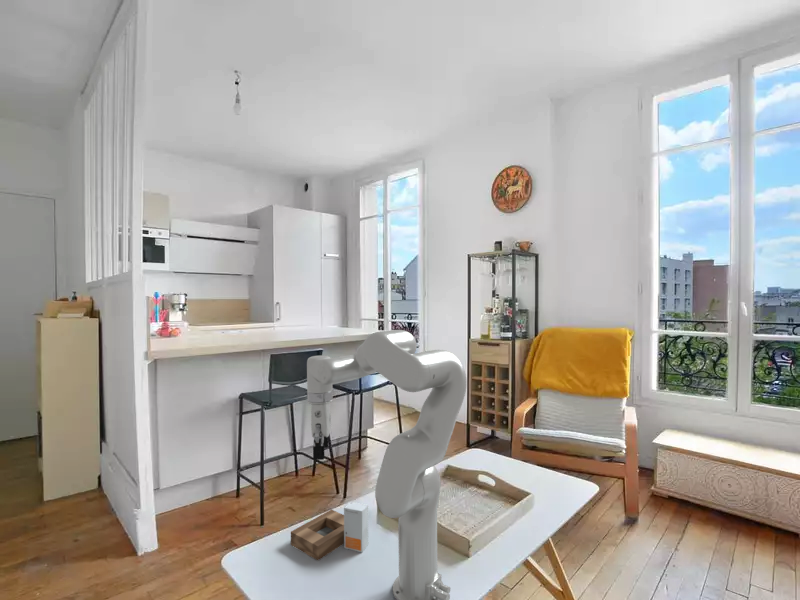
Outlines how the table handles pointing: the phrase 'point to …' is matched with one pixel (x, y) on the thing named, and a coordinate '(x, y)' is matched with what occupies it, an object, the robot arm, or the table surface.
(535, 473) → the table surface
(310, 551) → the socket block
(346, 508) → the skincare box
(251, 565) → the table surface
